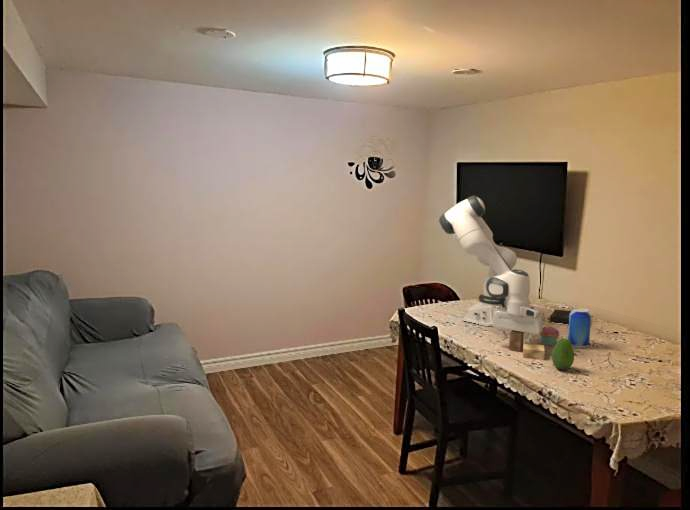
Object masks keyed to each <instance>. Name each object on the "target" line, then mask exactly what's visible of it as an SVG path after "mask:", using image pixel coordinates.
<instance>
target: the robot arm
mask: <svg viewBox="0 0 690 510" xmlns="http://www.w3.org/2000/svg"><path fill="white" fill-rule="evenodd" d="M485 213H486V207H485V204H484V201H483V200H482V199H481V198H479V197H478V196H476V195H471V196H468V197H467V198H466V199H464V200H461V201H459V202H458V203H456V204H455V205H454V206H452V207H451V208H449V210H447V211H446V212H444V213H442V214H441V216H439V218H438V219H439V220H438V222H439V225H440V228H441V229H442V231H444V233H446V234H448V235H453V234H454V235H455V236H456V239H457V240H458V243H459V244H460V246H461V247H462V249H463V250H464V251H465V252H466V253H467V254H469V255H471V256H475V257H476V260H477V262H479V263H480V264H482V265H484V266H486V267H489V268H488V272H487V275H486V276H485V277H484V278H483V282H482V284H483V285H482V293H480V295H478V298H477V299H478V301H477V302H475V303H474V304H473V305H471V306H470V307H469V308H468V309H467V310H466V311H467V312H466V315H464V316H463V317H462V318H461V321H462V320H463V321H462V322H464V321H468V322H472V323H471V324H473V323H476V324H475V325H478V324H479V326H483V327H488V326H489V327H493V329H499V330H500V334H502V340H507V339H508V334H506V330H508V331H512V330H514V331H520V332H524V333H526V334H528V337H526V338H525V340H524V341H525V342H524V343H525V344H531V338H532V337H533V336H534V334H535V335H539V334H540V333H541V332H542V330H543V327H544V324H543V323H544V322H543V319H542V316H541V315H540V314H541V312H542V311H541V309H540V308H538V307H536V306H533V305H531V304H530V302H529V300H530V299H529V295H530V292H531V288H530V287H531V281H530V275H529V274H528V272H526V271H524V270H521V269H517V268H514V267H515V266H516V264H517V263H518V262H517V261H518V258H517V254H516V252H515V251H513V250H511V249H510V248H509V247H504V246H499V245H498V244H496V243H495V241H494V239H493V238H494V237H493V236H494V234H493V231H492V230H491V229H490V227H489V226H488V224H487V223H486V222H485V220H484V219H483V218H482V216H483V215H484V214H485ZM513 268H514V269H513ZM506 304H507V307H506ZM468 322H467V323H468Z"/></svg>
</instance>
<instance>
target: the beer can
mask: <svg viewBox="0 0 690 510" xmlns="http://www.w3.org/2000/svg"><path fill="white" fill-rule="evenodd" d="M570 311H571V313H570V316H569V325H568V334H567V335H568V338H567V339H568V340H570V341H571V344H572V347H573V349H574V348H575V349H587V348H588V347H589V346H590V340H591V339H590V337H591V323H592V315H591V313H590V310H589V309H588V308H587V309H586V308H582V307H581V308H580V307H576V308H575V307H574V308H572V310H570Z"/></svg>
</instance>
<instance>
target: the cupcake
mask: <svg viewBox="0 0 690 510" xmlns="http://www.w3.org/2000/svg"><path fill="white" fill-rule="evenodd" d="M548 321H549V320H548V318H547V316H545V326H543V330H542V332H541V333H540V334H538V335H539V336H540V337H541V341H542V343H543V344H544V345H554V344H555V342H556V340H557V338H558V337H559V336H560V332H559V330H558V329H557V328H556V327H554V326H549V323H548Z"/></svg>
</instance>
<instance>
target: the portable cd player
mask: <svg viewBox="0 0 690 510" xmlns="http://www.w3.org/2000/svg"><path fill="white" fill-rule="evenodd" d="M571 311H572V310H567V309H565V310H564V309H554V310H553V311H552V312H551V314H550V315H549V316H550V317H549V323H550V322H554V323H553V324H555V323H563V324H568V325H567V326H569V316H570V313H571ZM563 324H562V325H563Z"/></svg>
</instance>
